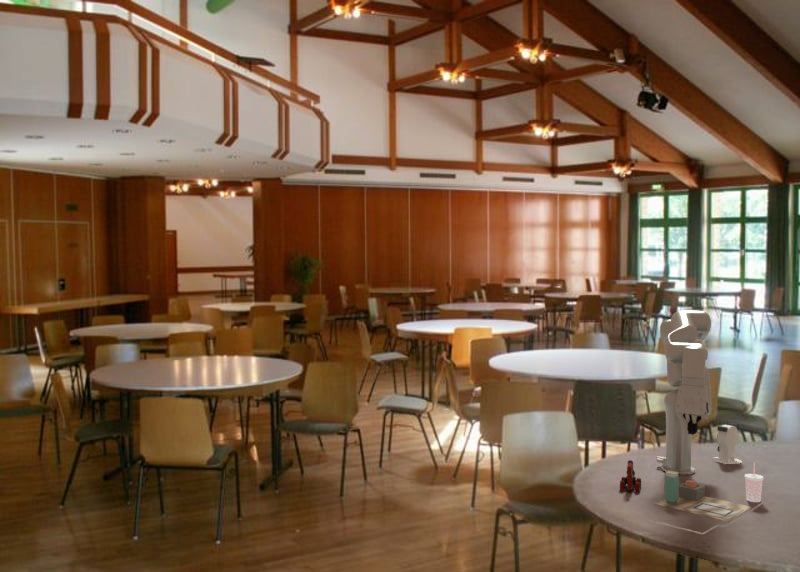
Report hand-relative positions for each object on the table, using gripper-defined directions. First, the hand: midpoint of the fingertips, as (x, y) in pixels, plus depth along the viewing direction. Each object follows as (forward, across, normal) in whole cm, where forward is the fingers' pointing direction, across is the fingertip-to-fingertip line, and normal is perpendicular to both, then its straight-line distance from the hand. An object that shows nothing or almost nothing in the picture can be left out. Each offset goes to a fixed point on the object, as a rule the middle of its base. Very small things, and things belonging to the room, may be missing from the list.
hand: (692, 433), depth 285 cm
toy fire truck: (+23, -20, -6) cm, 31 cm away
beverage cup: (+23, +17, +12) cm, 31 cm away
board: (+23, +7, -6) cm, 25 cm away
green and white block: (+22, -2, -11) cm, 25 cm away
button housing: (+22, 0, 0) cm, 22 cm away
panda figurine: (+23, -11, +58) cm, 63 cm away
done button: (+22, 0, 0) cm, 22 cm away
